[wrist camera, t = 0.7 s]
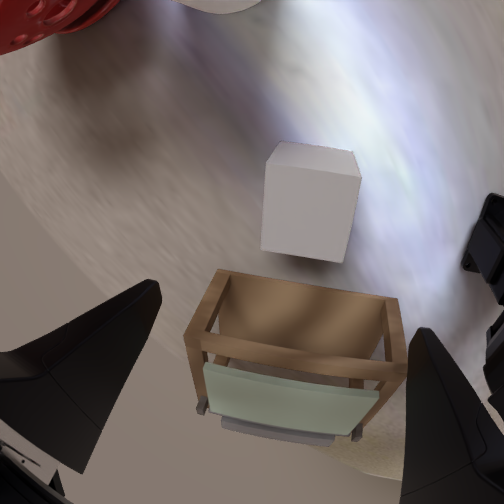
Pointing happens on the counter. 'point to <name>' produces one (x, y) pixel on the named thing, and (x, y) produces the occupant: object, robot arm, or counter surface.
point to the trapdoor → (284, 406)
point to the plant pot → (45, 19)
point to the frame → (298, 333)
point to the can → (219, 5)
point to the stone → (309, 201)
